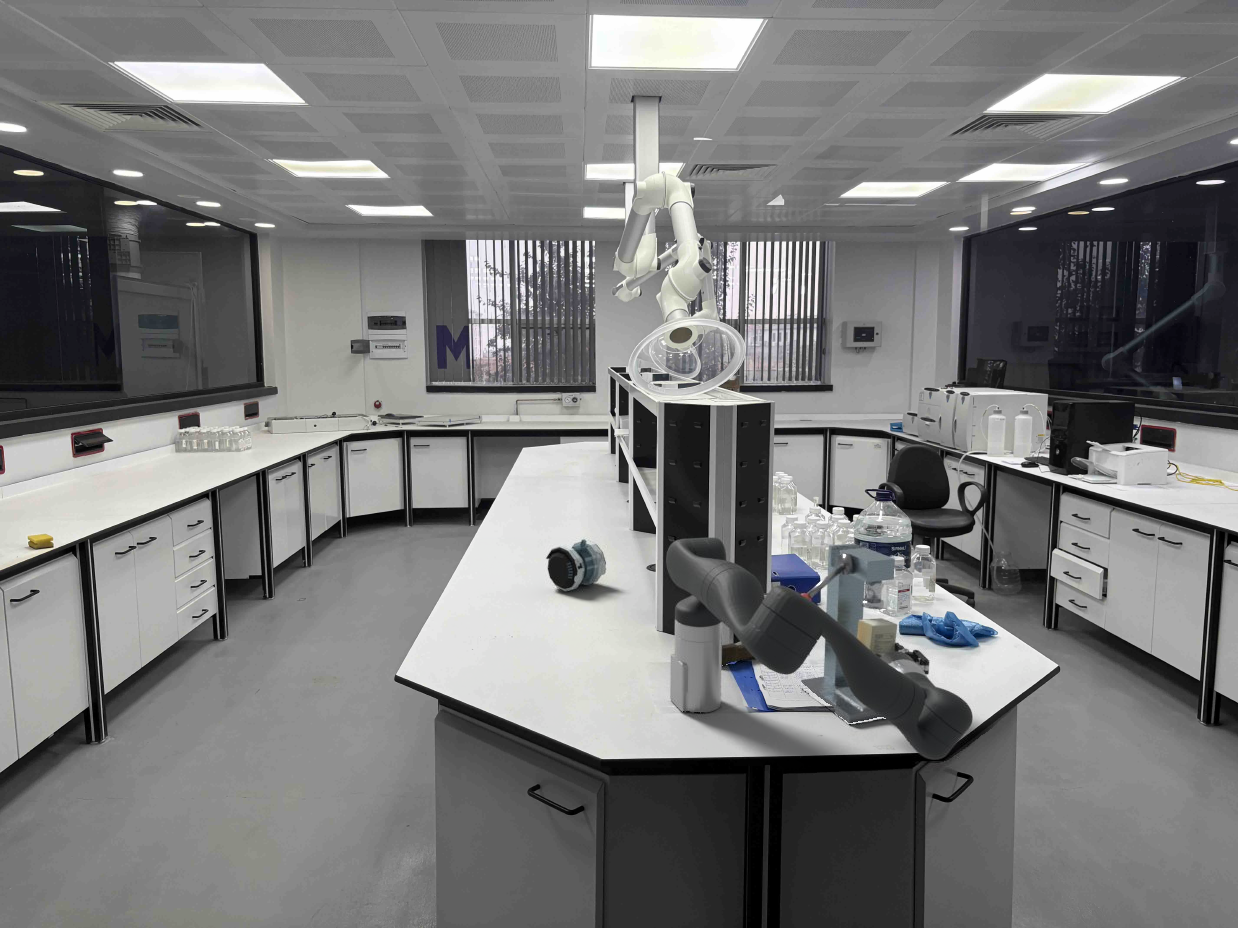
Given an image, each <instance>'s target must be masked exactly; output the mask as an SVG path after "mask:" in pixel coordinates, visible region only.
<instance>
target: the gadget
mask: <svg viewBox="0 0 1238 928" xmlns="http://www.w3.org/2000/svg"><path fill="white" fill-rule="evenodd" d="M604 554H605V553H604V551H602V549H601V548H600V547H599V545H598V544H597V543H595V542H593V541H591V540H588V539H583V538H582V539H581V541H579V542H576V543H573V545H572V546H571V547H569V546H567V545H561V546H558V547H554V548H552V549H550V551H549V552H548V554H547V556H546V557H545V559H546V560H547V561H548V562H547V572H548V576H549V579H550V580H551V582H553V584H554V586H556V588H558V589H559V590H562V591H563V592H568V591H569V592H570V591H573V590H575V589H578V587H579V585H580V584H582V585H584V586H589V585H591V584H594V583H598V581H599V580H600V578H601V577H602V576H604V575H605V574H606V571H607V567H606V565H607V562H606V558H605V555H604Z"/></svg>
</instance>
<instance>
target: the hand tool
mask: <svg viewBox="0 0 1238 928" xmlns="http://www.w3.org/2000/svg"><path fill="white" fill-rule="evenodd" d="M753 658H755V657H754V656H753V655H752V654H751V653H750V652H749V651H748V650H747V649H746V648H745V646H744V645H743V644H742V643H741V644H736V643H733V642H732V643H728V644H722V665H726V664H728V663H731V662H735V661H739V662H740V660H741V661H746V660H749V659H753Z"/></svg>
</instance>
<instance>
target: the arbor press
mask: <svg viewBox="0 0 1238 928" xmlns="http://www.w3.org/2000/svg"><path fill="white" fill-rule="evenodd" d="M827 557H828V560H827V576H825V577H824V578H823V579H821V580H820V581H819V582H818V583H817V584H815V586H813V588H811V589H810V590H809V591H807V593H805V592H803V593H800V594H801V595H803V596H804V597H806V598H807V599H809V600H810V601H812V598H813V597H814V596H815V595H817V594H818V593H819V592H820V591H821V590H823V589H824V588H825V587H826V606H825V607H826V608H825V609H826V610H825V612H826V613H827V614H829V615H830V616H831V617H832V618H833V619H835V620H836V621H837V622H838V623H839V624H841V625H842V626H843V627H844V628H846V629H847V630H848V631H849V632H850V633H851V634H853V635H854V636H855V637H856V638H857V633H858V624H859V620H863V619H864V608H866V609H869V610H880V609H884V608H885V601H884V600H883V599H882V594H883V593H882V592H883V591H882V590H883V589H882V588H883V581H891V580H892V581H893V580H895V565H896V559H895V558H894V557H892V556H889V555H886V554H883V553H880V552H878V551H875V550H872V549H870V548H868V547H865V546H862V545H859V544H857V543H854V542H853V543H846V544H845V543H843V544H832V545H828V555H827ZM823 658H824V659H823V660H824V661H823V662H824V663H823V665H824V666H823V676H820V677H818V676H817V677H812V678H806V679H800V683H801V682H802V683H803V684H804V685H805V686H807V687H808V688H809V689H810V690H811V691H812V692H813V693H815V694H816V695H817V696H818V697H820V698H821V699H823V700H824V701H825V702H826V703H828V704H830V705H832V706H833V707H834V709H835V713H836V714H837V715H838V716H840V717H842V718H843V719H844V720H846V721H847V722H848V723H853V722H858V721H864V720H869V719H873V718H877V717H882V716H881V715H879V714H878V713H876V712H874V711H873V710H871V709H870V708H868V707H867V706H865V705H864V704H862V703H861V702H860V701H859V700H858V699H857V698H856V697H855V696H854V694H853V693H852V692H851V690H850V688H849V686H848V684H847V682H846V680H845V678H844V675H843V672H842V670H841V667H840V664H839V662H838V659H837V657H836V655H835V653H834V651H833V649H832V647H831V646H830V644H829V643H828V642H827V641H826V640H825V639H824V657H823Z"/></svg>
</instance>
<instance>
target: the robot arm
mask: <svg viewBox="0 0 1238 928" xmlns="http://www.w3.org/2000/svg"><path fill="white" fill-rule="evenodd" d="M665 564H666V569H667V572H668V575H669V577H670V579H671V581H672V582H673V583H674V584H675V585H676V587H678V588H680V589H682V590H684V591H686V592H687V593H689V594H691V595H690V596H688V597H686V598H684V599H682V600H680V601H678V602H677V603H676V605H675V606H674V607H675V608H674V653H672V654H671V655H670V679H669V681H670V683H669V685H670V687H669V688H670V691H669V692H670V694H669V695H670V696H669V699H671V700H670V701H671V702H672V703H673V704H674V706H675V707H676V708H677V707H678V708H679V709H680V710H681V711H682V712H681V711H680V710H679V709H678V708H677V709H678V710H679V711H680V712H681V713H687V712H686V711H690V712H689V713H694V712H700V714H701V712H705V713H710V712H713V711H716V710H718V709H719V708H720V707H721V704H722V702H721V701H722V667H723V666H722V645H723V625H725V626H726V627H728V628H729V630H731V632H733V634H734V635H735V636H736V638H737V639H738V641H739V642H740V643H741V645H742V644H743V645H744V646H745V648H746V649H747V650H748V651H749V652H750V653H751V654H752V655H753V656H754V657H753V658H755V660H757V661H758V662H759V663H760V664H761V665H763V666H765V667H766V668H767V669H768V670H770V671H773V672H775V673H777V674H780V675H792V674H794V673H795V672H796V671H798V670H799V669H800V668H801V667H802V665H803V664H804V663H805V661H806V659H807V658H808V656H810V653H811V652H812V650H813V649H814V648H815V646H816V644H817V643H818V641H819V640H820V638H821V637H822V638H823V639H824V641H825V640H826V641H827V642H828V643H829V644H830V646H831V647H832V649H833V651H834V653H835V655H836V657H837V659H838V662H839V664H840V667H841V670H842V672H843V675H844V678H845V680H846V682H847V684H848V686H849V688H850V690H851V692H852V693H853V694H854V696H855V697H856V698H857V699H858V700H859V701H860V702H861V703H862V704H864V705H865V706H867V707H868V708H870V709H871V710H873V711H874V712H876V713H878V714H879V715H881V716H882V717H884V718H886V719H885V720H887V721H888V722H890V723H891V724H893V726H894V727H896V729H898V730H899V732H900V733H901V734H902V736H903V737H904V738H905V739H906V741H907V742H908V743H909V744H910V746H911V747H912V748H913V749H914V750H915V751H916V752H917V753H918V754H919V755H920V756H922V757H924V758H925V759H928V760H934V761H935V760H940V759H941V760H942V759H944V758H945V757H946V756H947V755H948V754H949V753H950V752H951V751H952V749H953V748H954V747H955V746H956V745H957V743H958V742H959V741H960V740H961V738H962V737H963V736H964V734H965V733H966V732H967V731H968V730H969V729H970V727H971V726H972V724H973V717H974V716H973V711H972V709H971V706H970V705H969V704H968V703H967V702H966V701H965V700H964V699H963V698H962V697H960V696H959V695H957V694H956V693H954V692H952V691H949V690H947V689H944V688H941V687H938V686H936V685H935V684H934V683H933V682H932V681H931V680H930V678H929V677H928V675H929V673H930V659H928V658H927V657H926V656H925V654H924V653H922V652H921V650H918V649H913V650H912V651H910V650H909V648H905V647H904V646H903V645H902V644H900V642H895V650H894V651H893V652H888V653H886V654H884V653H878V652H876V651H873V650H871V649H868V648H867V647H866V646H865V645H864V644H863V643H862V642H861V641H859V640H858V639H857V638H856V637H855V636H854V635H853V634H851V633H850V632H849V631H848V630H847V629H846V628H844V627H843V626H842V625H841V624H839V623H838V622H837V621H836V620H835V619H833V618H832V617H831V616H830V615H829V614H827V613H826V610H824V609H822V608H821V607H820V606H819V605H817V604H816V603H815V602H813V601H812V600H811V601H810V600H809V599H807V598H806V597H804V596H803V595H801V594H802V593H800V592H798V591H796V590H794V589H793V588H790V587H789V586H788V587H787V586H784V585H775V586H773V587H772V588H771V589H770V590H769V591H768V593H767V594H766V595H765V593H764V590H763V589H764V588H763V586H762V585H761V582H760V581H759V580H758V578H757V577H756V575H754V574H753V573H751V572H750V571H748V570H747V569H746V568H744V567H742V566H741V565H739V564H737V563H735V562H731V561H728V560H727V553H726V547H725V545H724V543H723V542H722V540H721V539H719V537H718V538H717V537H695V538H694V537H693V538H681V539H677V540H674V541H673V542H671V544H670V545H669V547H668V549H667V551H666V557H665ZM683 711H685V712H683Z"/></svg>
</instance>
